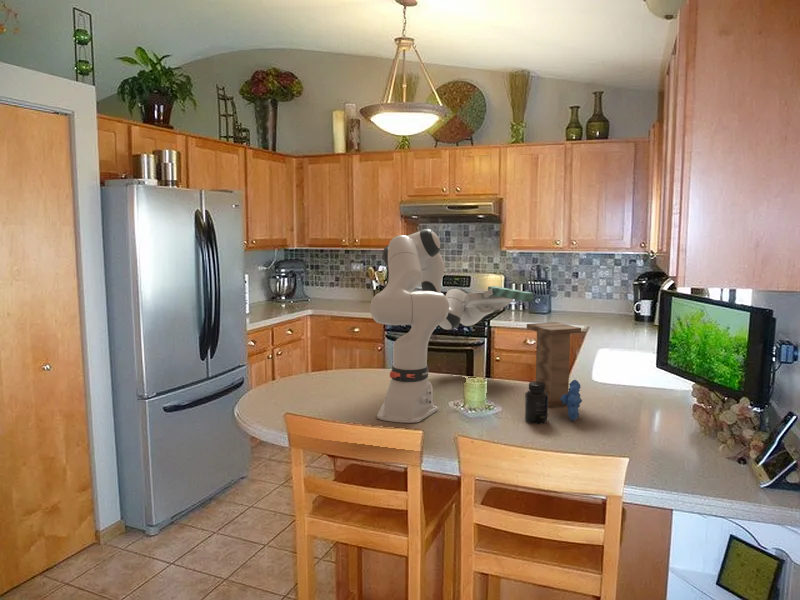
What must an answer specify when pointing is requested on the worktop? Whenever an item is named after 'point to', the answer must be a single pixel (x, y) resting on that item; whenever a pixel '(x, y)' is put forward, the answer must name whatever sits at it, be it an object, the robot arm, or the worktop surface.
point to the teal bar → (512, 293)
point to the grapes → (572, 399)
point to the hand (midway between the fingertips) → (497, 290)
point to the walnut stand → (553, 358)
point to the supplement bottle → (536, 403)
